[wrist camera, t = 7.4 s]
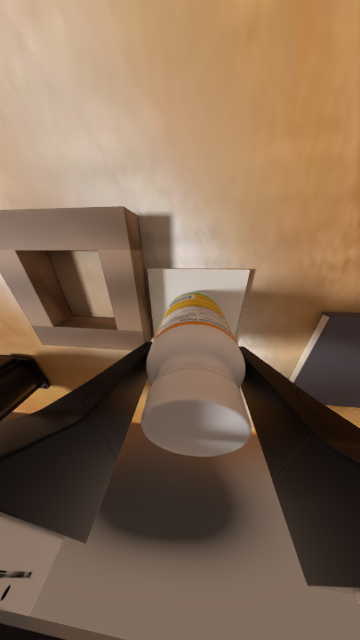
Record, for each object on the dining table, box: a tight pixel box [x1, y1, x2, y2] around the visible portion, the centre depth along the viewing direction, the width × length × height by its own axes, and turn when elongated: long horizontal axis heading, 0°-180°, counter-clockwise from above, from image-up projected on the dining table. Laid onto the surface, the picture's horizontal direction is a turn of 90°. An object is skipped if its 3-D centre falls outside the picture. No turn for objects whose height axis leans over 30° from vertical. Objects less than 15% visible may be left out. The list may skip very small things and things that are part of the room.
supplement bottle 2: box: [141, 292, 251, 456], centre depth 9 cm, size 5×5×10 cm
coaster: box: [147, 268, 250, 338], centre depth 14 cm, size 9×9×1 cm
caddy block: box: [0, 206, 152, 350], centre depth 13 cm, size 12×12×2 cm
